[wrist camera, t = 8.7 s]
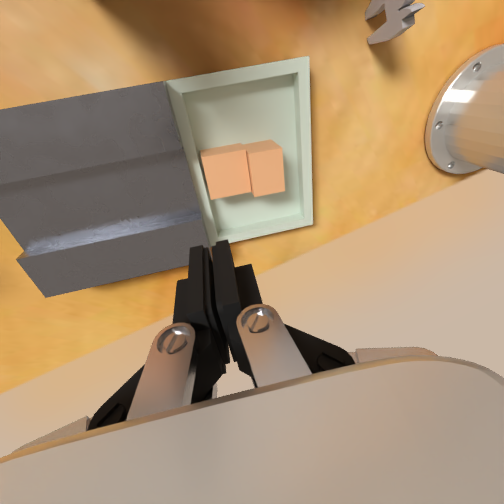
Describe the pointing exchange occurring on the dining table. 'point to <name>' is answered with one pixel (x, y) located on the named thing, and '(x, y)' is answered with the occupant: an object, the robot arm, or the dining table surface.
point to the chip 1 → (226, 170)
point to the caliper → (392, 18)
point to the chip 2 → (265, 167)
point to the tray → (248, 131)
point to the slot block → (98, 188)
